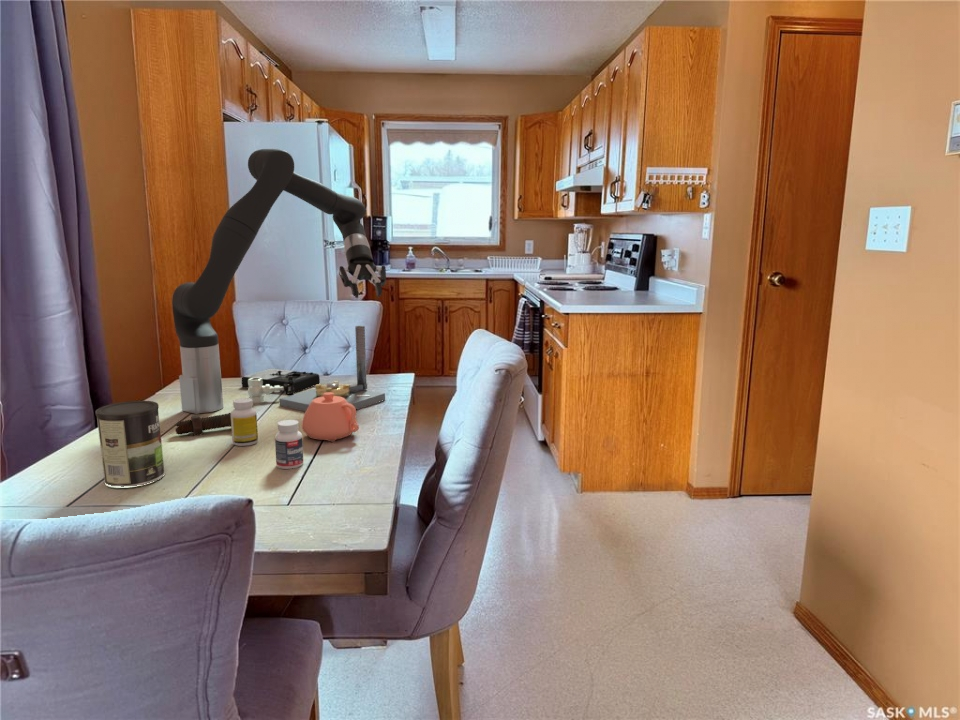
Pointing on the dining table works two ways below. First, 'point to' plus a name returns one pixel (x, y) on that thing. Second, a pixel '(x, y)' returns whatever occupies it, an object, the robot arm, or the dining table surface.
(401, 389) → the dining table surface
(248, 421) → the supplement bottle
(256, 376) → the multimeter
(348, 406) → the sugar bowl
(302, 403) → the base plate
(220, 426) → the bolt
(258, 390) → the valve
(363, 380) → the brass hub with handle
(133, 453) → the coffee can
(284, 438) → the pill bottle
